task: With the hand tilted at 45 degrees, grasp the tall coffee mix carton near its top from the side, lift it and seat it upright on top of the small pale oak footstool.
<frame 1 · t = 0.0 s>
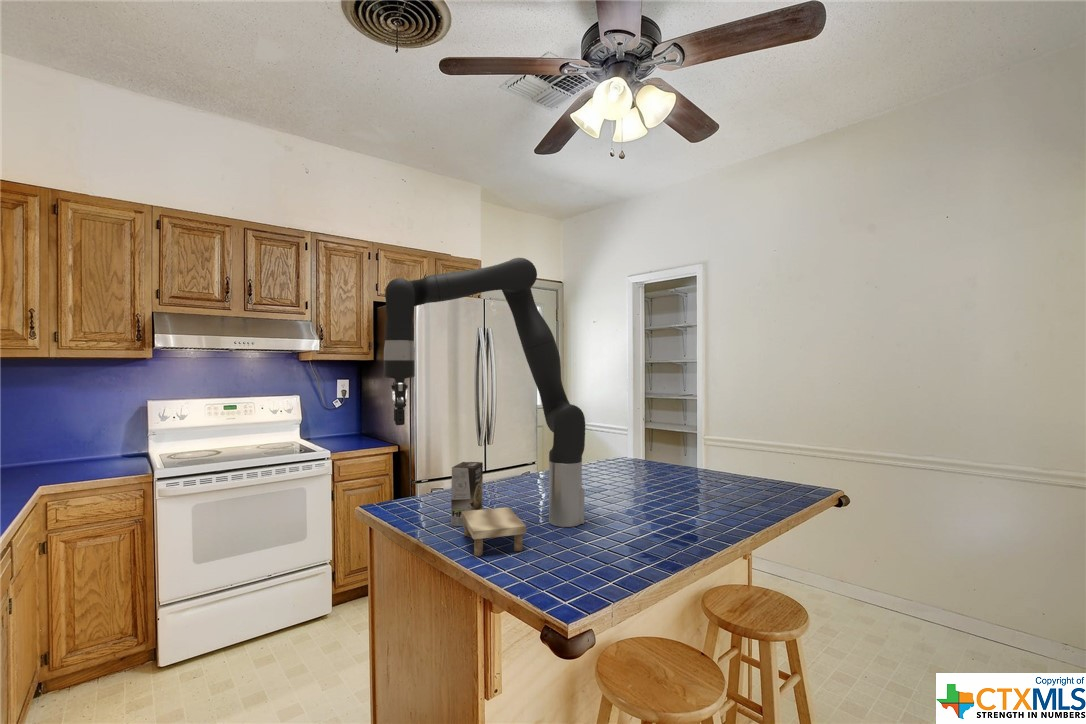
hand: (399, 423, 127), 29 cm above the counter, tool pointing down, fingers open, 8 cm apart
footstool: (492, 542, 124), on the counter
coffee box: (467, 522, 141), on the counter
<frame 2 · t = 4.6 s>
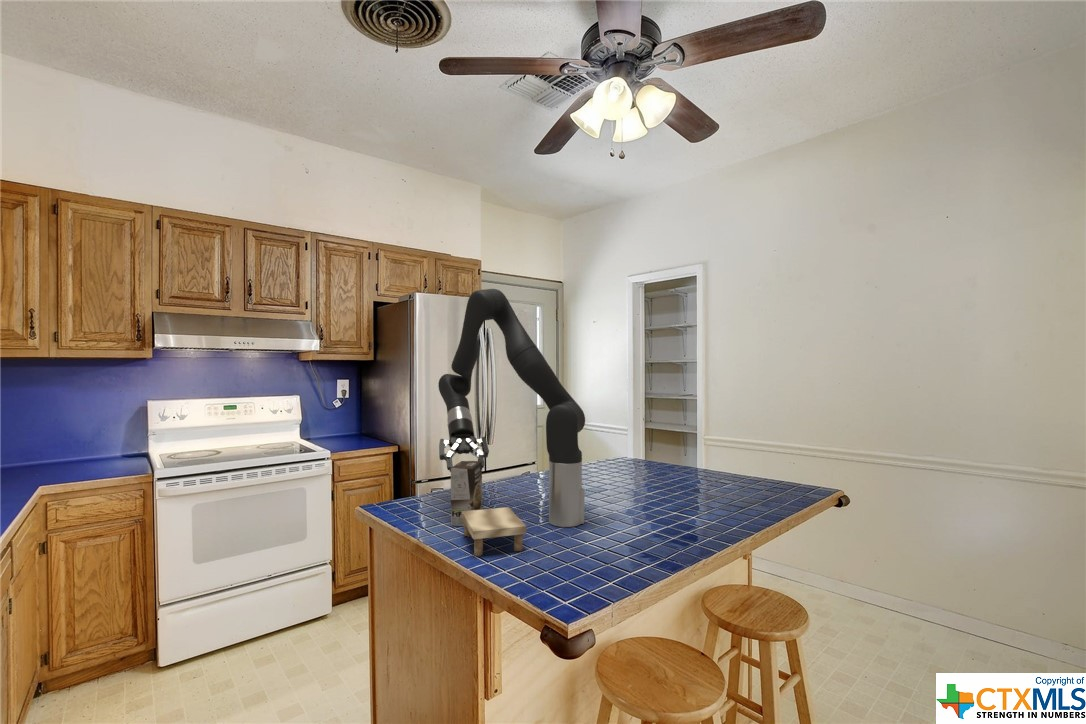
hand: (466, 469, 144), 14 cm above the counter, tool tilted 45°, fingers open, 8 cm apart
nothing on the counter moved.
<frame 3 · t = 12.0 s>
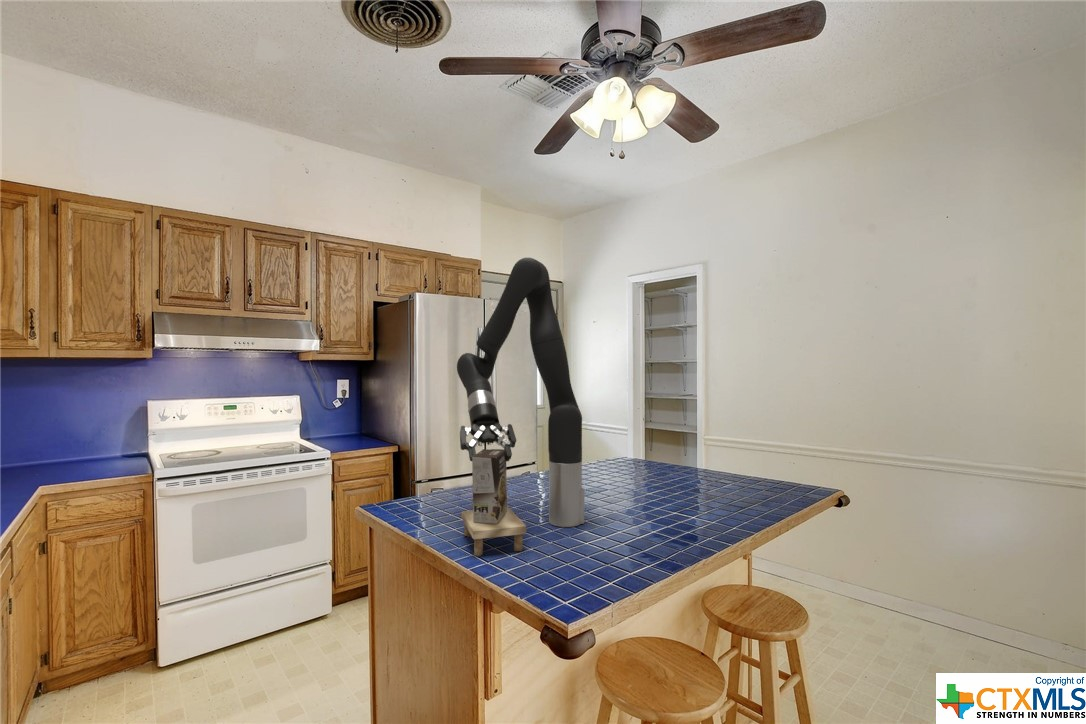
hand: (491, 460, 126), 20 cm above the counter, tool tilted 45°, fingers closed on coffee box, 8 cm apart
coffee box: (491, 517, 125), point 6 cm above the counter, touching footstool, gripper
when the fingers open (20 cm above the counter, at t = 12.2 s): coffee box stays where it is, resting on footstool.
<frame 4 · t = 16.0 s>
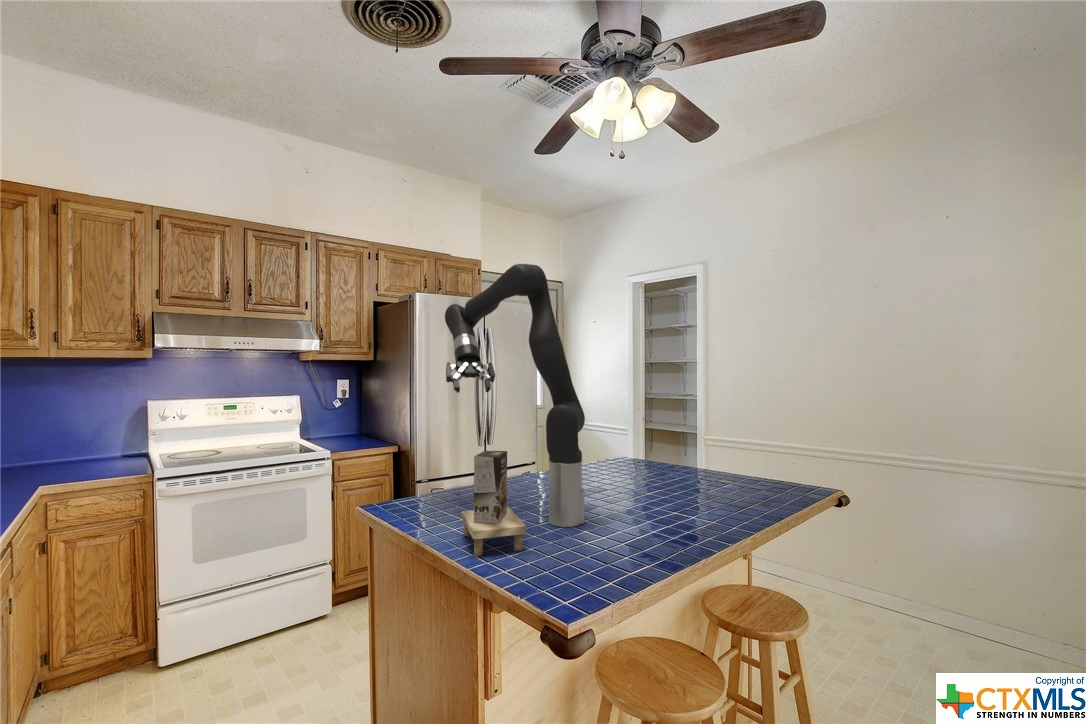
hand: (473, 390, 144), 37 cm above the counter, tool tilted 45°, fingers open, 8 cm apart
coffee box: (490, 518, 125), point 6 cm above the counter, touching footstool
at the end: coffee box inside the target area on the footstool (0.6 cm from its centre), point 5.8 cm above the footstool's base; coffee box tilted 0°; the gripper is holding nothing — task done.
